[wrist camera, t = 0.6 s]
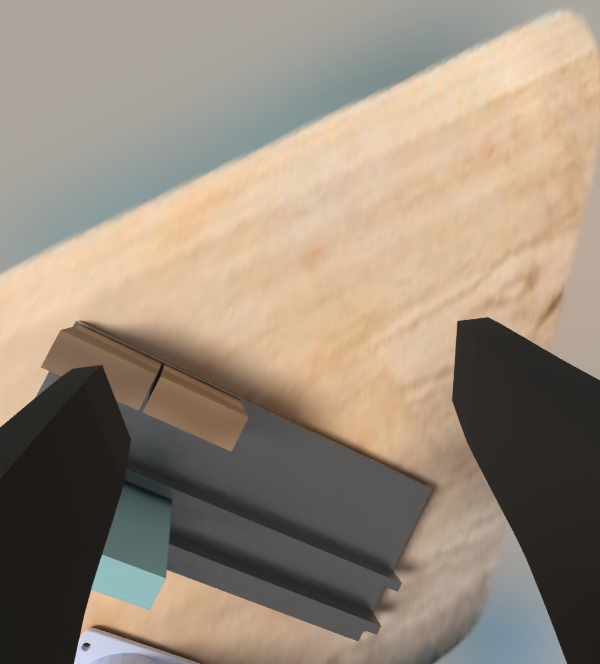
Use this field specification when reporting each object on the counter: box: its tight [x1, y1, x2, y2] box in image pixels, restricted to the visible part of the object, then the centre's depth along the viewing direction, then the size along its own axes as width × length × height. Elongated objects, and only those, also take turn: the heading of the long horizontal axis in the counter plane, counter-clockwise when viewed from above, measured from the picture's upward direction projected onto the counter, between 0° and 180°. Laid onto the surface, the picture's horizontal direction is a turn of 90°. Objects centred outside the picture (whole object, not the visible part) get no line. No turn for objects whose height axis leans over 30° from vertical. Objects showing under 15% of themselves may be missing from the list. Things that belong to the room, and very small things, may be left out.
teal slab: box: [91, 481, 172, 610], centre depth 25 cm, size 2×8×9 cm, turn 62°
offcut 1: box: [41, 326, 161, 410], centre depth 27 cm, size 2×5×4 cm, turn 62°
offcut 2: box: [142, 366, 249, 451], centre depth 28 cm, size 2×5×4 cm, turn 62°
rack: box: [36, 321, 432, 641], centre depth 31 cm, size 11×25×2 cm, turn 62°
